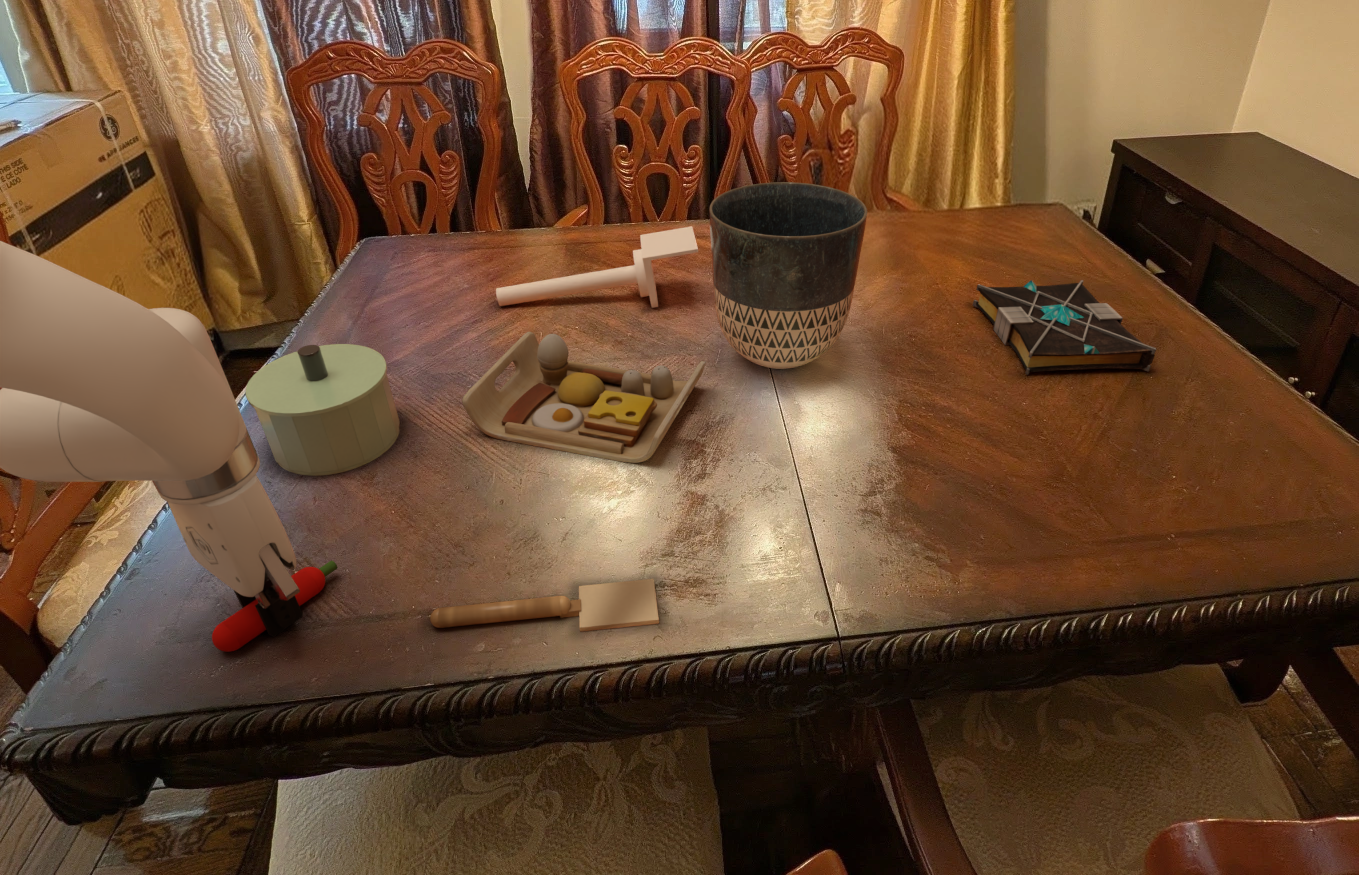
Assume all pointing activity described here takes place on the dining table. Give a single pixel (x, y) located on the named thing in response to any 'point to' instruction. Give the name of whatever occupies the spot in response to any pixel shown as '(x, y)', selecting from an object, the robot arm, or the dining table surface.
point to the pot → (334, 435)
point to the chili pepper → (249, 621)
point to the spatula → (566, 608)
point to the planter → (784, 268)
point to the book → (1061, 328)
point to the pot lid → (316, 380)
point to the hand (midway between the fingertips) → (275, 616)
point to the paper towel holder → (610, 271)
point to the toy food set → (576, 402)
